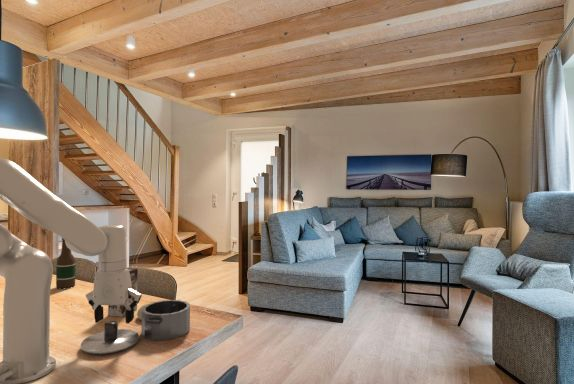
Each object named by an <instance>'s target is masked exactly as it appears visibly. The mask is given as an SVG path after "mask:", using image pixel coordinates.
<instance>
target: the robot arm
mask: <svg viewBox="0 0 574 384" xmlns="http://www.w3.org/2000/svg"><path fill="white" fill-rule="evenodd" d="M0 200H1V201H2V202H3V203H5V204H6V205H8V206H9V207H11V208H12V209H13V210H15V211H16V212H17V213H19V214H20V215H21V216H23V217H24V218H26V220H28V221H30V222H32V223H33V224H35V225H37V226H40V227H41V228H44V229H46V230H48V231H50V232H52V233H54V234H55V235H57V236H59V237H60V238H61V239H62V238H63V239H64V240H65V244H66V246H67V247H68V248H69V249H70V250H71V252H74V253H77V254H80V255H84V256H86V257H95V256H98V261H96V262H95V264H94V265H95V267H97V268H98V270H97V271H95V276H94V280H93V290H91V291H90V292H88V293H86V294H85V297H86V299H87V301H88V304H89V306H91V309H92V310H93V311H94V312H93V313H94V323H96V324H98V323H99V322H101V321H103V320H104V319H105V318H104V317H105V316H104V306H108V305H124V306H125V307H126V308H127V310H126V311H125V315H124V317H125V324H130V323H131V322H132V321H134V319H135V310H134V307H135V306H136V305H137V306H138V304H139V303H140V300H141V299H142V296H143V294H142V293H141V292H139V291H138V290H137V291H135V290H133V289H132V284H131V278H130V273H129V270H128V269H127V268H128V267H127V241H126V240H127V237H126V233H127V232H126V227H125V226H124V225H121V224H107V225H101V226H97V225H96V224H95V223H93V221H91V220H90V219H89V218H88V217H87V216H85V215H83V214H82V213H81V212H79V211H78V210H76V209H75V208H73V207H72V206H71V205H69V204H68V203H67V202H65V201H64V200H63V199H62V198H60V197H58V196H57V195H56V194H54V193H53V192H52V191H50V189H48V188H47V187H45V186H44V185H43V184H42V183H40V182H39V181H38V180H37V179H36V178H35V177H33V176H32V175H31V174H30V173H28V172H27V171H26V170H25V169H24V168H22V167H21V166H20V165H18V164H17V163H15V162H14V161H12V160H10V159H8V158H3V157H0ZM53 274H54V266H53V261H52V259H51V258H50V256H49V255H48V254H47V253H46V252H44V251H43V250H41V249H38V248H36V247H32V246H31V245H29V244H28V243H26V242H24V240H21V238H19V237H18V236H16V235H14V234H13V233H11V232H10V230H9V229H8V228H7V227H6V226H5V225H3V224H1V223H0V276H1V277H3V278H4V282H5V283H4V285H5V286H4V292H3V293H4V294H3V303H2V309H3V310H2V316H3V318H2V319H3V320H2V324H3V325H2V327H3V328H2V330H3V331H2V333H3V335H2V361H0V384H24V383H29V382H32V381H35V380H37V379H39V378H42V377H44V376H46V375H48V374H49V373H51V372H52V371H53V370H54V369H55V368H56V365H57V360H56V358H55V357H53V356H50V332H51V329H50V327H51V325H50V323H51V322H50V319H51V318H50V316H51V310H50V309H51V308H50V306H51V285H52V282H53V281H52V280H53ZM132 296H134V297H135V299H134V301H132V300H131V299H132Z"/></svg>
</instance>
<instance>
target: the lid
mask: <svg viewBox="0 0 574 384" xmlns="http://www.w3.org/2000/svg"><path fill="white" fill-rule="evenodd" d="M103 327H104V331H101V332H97V333H94V334H90V335H89V336H87V337H86V338H84V340H82V341H81V343H80V350H81V351H82V352H84V353H86V354H90V355H104V354H105V355H106V354H114V353H116V352H121V351H124V350H126V349H128V348H131V347H132V346H134V345H135V344H137V343H138V341H139V338H140V336H139V335H140V334H139V333H138V332H137V331H135V330H132V329H125V328H124V329H123V328H121V329H119V322H118V321H117V320H108V321H106V322H105V323H104V326H103Z"/></svg>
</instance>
